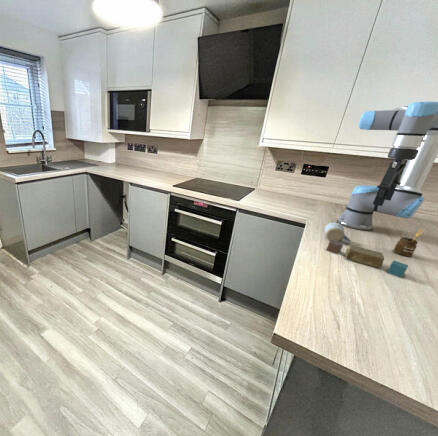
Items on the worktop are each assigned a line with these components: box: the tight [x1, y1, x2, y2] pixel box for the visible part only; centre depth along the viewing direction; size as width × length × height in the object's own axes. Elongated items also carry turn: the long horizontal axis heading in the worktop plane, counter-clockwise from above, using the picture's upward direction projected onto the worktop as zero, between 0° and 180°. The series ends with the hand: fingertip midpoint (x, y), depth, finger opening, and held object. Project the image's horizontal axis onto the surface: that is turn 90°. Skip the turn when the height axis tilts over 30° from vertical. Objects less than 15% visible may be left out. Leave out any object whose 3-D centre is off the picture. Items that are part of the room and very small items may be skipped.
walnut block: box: [326, 240, 344, 254], centre depth 103 cm, size 4×4×4 cm
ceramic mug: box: [324, 221, 352, 244], centre depth 113 cm, size 11×8×8 cm
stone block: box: [345, 244, 385, 269], centre depth 95 cm, size 6×12×5 cm, turn 53°
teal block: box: [386, 260, 410, 278], centre depth 88 cm, size 4×4×4 cm
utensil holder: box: [393, 228, 425, 257], centre depth 102 cm, size 6×6×12 cm
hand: (381, 202), depth 95 cm, fingers open, 13 cm apart
